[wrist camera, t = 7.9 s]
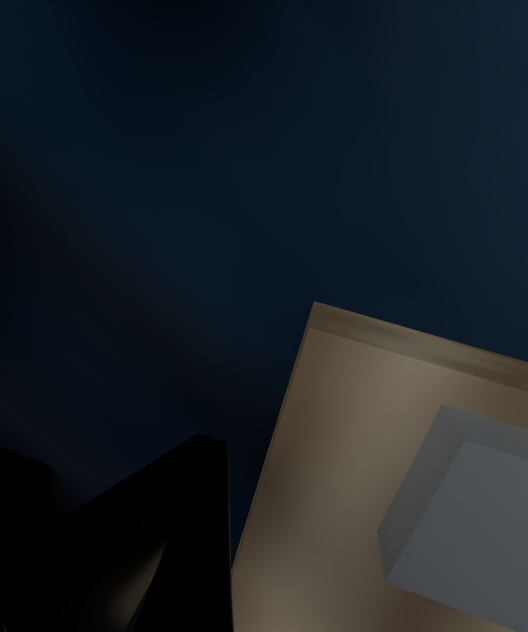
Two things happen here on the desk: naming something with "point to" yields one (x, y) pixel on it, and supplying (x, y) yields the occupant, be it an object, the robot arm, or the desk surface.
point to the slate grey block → (464, 519)
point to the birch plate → (356, 474)
